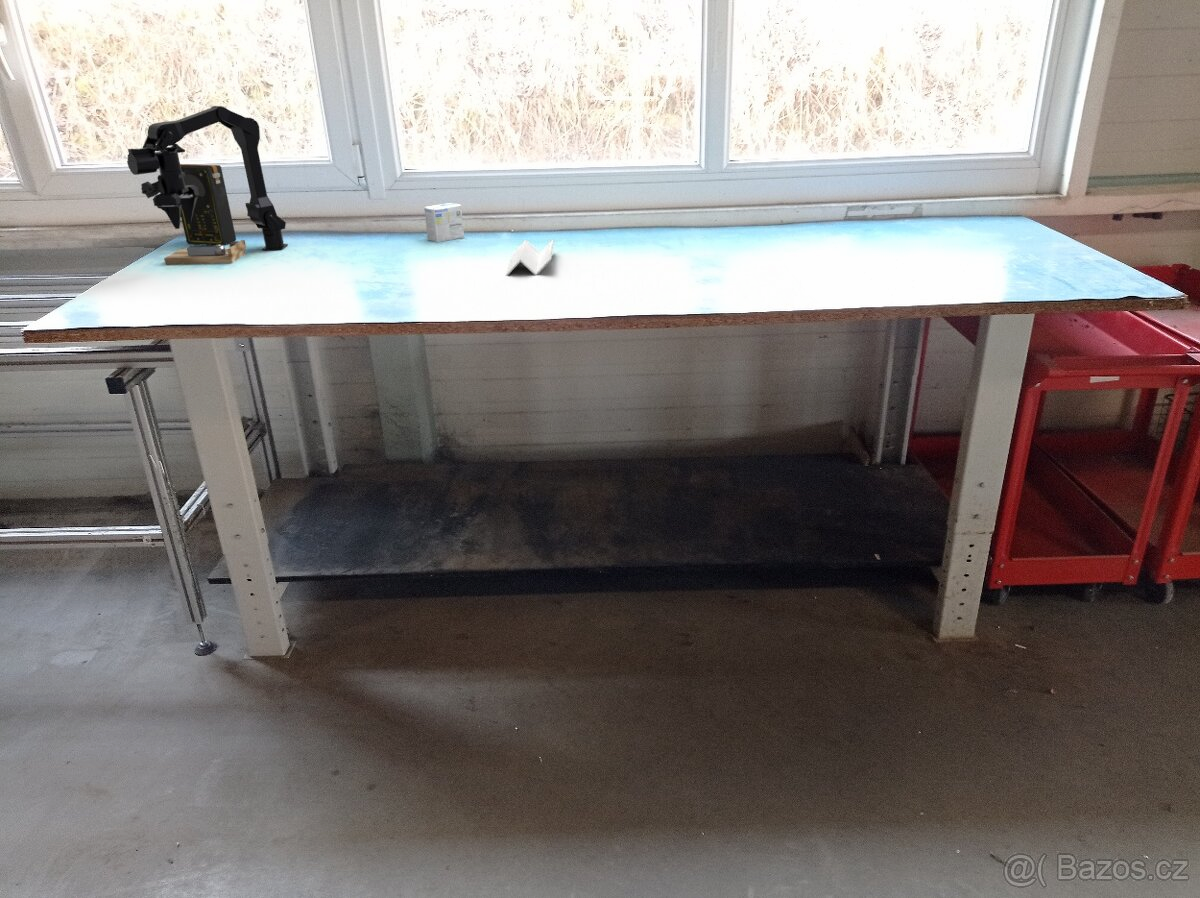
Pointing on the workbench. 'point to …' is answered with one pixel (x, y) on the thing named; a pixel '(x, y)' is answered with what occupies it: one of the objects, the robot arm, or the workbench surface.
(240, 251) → the door board
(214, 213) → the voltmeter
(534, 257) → the z bracket
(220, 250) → the bar
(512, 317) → the workbench surface
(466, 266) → the workbench surface
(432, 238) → the light bulb box
